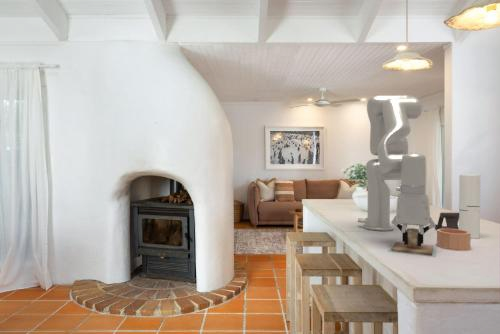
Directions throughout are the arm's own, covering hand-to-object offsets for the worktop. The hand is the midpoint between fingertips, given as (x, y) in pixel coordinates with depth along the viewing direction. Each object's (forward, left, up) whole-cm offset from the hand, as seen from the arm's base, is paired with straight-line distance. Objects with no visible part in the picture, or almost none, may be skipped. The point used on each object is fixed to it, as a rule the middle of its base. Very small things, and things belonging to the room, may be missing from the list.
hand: (412, 244), depth 119 cm
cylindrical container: (+18, +37, -2) cm, 41 cm away
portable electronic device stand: (+11, +47, -3) cm, 48 cm away
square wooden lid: (0, 0, -2) cm, 2 cm away
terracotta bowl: (+12, +11, -2) cm, 16 cm away
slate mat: (0, 0, -2) cm, 2 cm away
